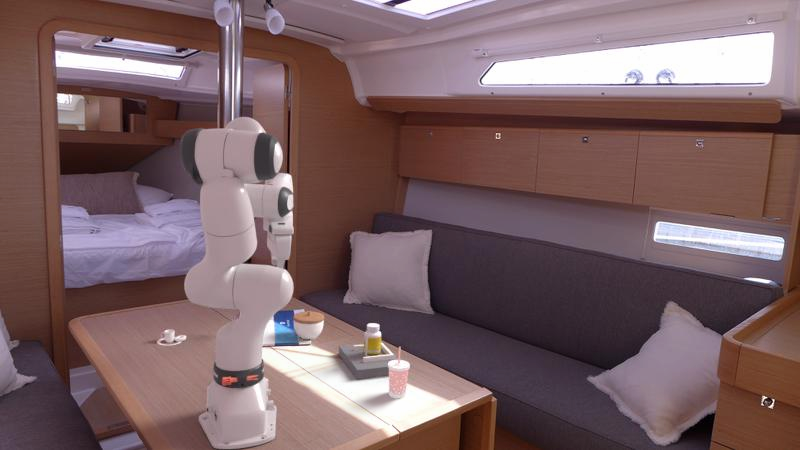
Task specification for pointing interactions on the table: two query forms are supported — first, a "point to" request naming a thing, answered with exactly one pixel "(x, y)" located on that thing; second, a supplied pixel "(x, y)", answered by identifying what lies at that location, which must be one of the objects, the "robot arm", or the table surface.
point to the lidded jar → (308, 324)
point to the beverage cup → (398, 377)
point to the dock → (366, 361)
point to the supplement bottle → (372, 340)
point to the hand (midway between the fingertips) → (277, 268)
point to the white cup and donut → (171, 338)
